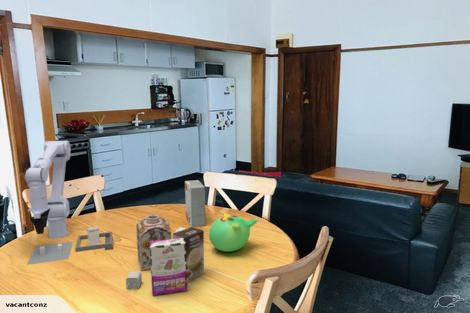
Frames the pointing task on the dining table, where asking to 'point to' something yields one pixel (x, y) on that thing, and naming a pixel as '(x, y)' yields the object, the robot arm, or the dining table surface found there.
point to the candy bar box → (168, 266)
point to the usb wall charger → (134, 280)
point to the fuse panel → (50, 253)
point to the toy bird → (230, 232)
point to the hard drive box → (195, 203)
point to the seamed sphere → (180, 229)
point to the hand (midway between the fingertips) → (41, 230)
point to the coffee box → (193, 251)
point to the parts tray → (107, 245)
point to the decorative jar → (150, 237)
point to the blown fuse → (93, 235)
